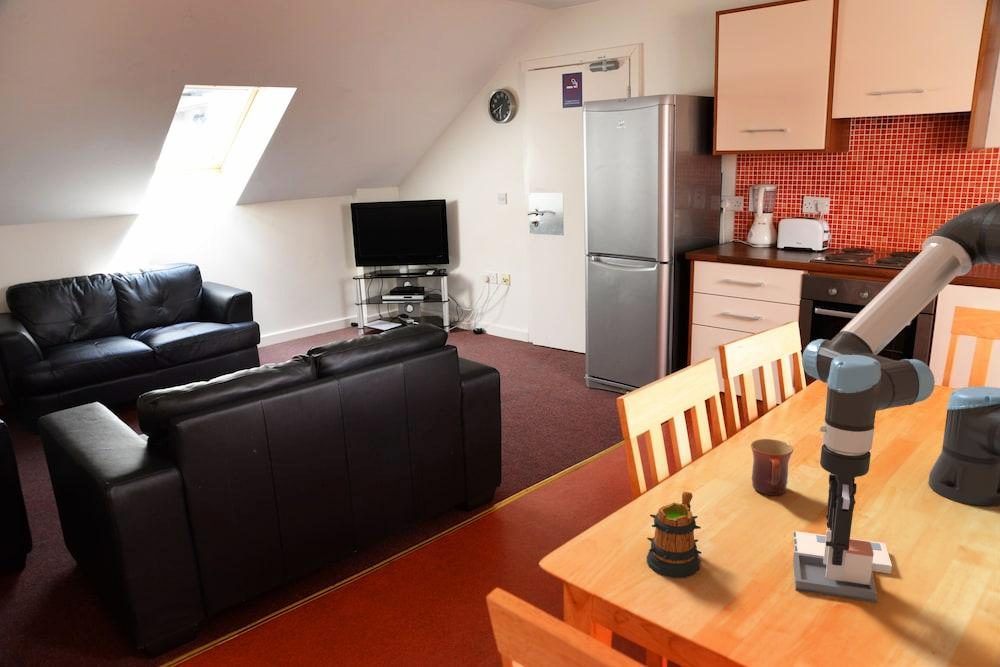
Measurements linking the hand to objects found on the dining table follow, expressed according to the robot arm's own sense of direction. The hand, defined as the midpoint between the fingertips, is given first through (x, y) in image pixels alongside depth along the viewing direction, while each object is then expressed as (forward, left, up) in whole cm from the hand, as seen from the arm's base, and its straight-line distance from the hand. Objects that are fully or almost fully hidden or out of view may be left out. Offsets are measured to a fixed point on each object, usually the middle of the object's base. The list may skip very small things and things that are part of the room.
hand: (832, 571), depth 131 cm
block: (-3, 0, 0) cm, 3 cm away
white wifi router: (-2, -9, -2) cm, 10 cm away
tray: (0, 0, -2) cm, 2 cm away
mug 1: (+27, +1, -2) cm, 27 cm away
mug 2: (+10, -32, -2) cm, 34 cm away
